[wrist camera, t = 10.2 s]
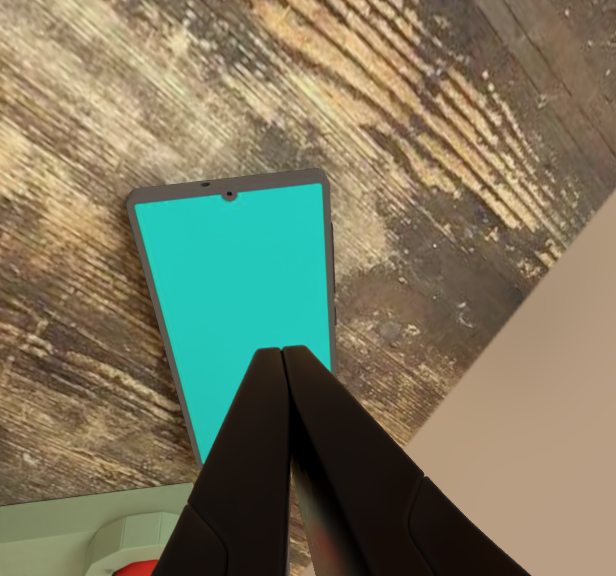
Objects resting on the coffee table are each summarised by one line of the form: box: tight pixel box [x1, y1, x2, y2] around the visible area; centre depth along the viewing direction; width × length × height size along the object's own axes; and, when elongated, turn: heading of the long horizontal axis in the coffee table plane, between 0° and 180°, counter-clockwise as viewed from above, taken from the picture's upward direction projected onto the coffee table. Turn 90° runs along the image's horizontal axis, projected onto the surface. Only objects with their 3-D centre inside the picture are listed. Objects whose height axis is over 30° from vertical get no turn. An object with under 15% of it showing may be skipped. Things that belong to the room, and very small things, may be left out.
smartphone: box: [126, 168, 337, 469], centre depth 24 cm, size 7×1×15 cm
